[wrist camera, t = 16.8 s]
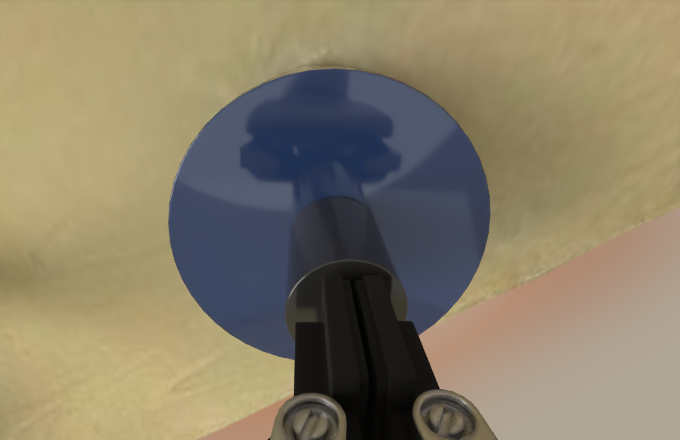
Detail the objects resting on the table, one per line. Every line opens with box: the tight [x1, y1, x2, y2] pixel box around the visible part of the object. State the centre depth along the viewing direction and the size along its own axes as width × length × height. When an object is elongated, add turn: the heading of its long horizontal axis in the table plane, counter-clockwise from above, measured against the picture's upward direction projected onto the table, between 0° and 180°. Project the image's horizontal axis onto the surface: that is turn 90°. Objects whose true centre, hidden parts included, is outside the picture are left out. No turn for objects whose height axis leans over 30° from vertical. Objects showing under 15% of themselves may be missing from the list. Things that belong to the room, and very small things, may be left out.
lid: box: [168, 67, 490, 360], centre depth 15 cm, size 13×13×6 cm
